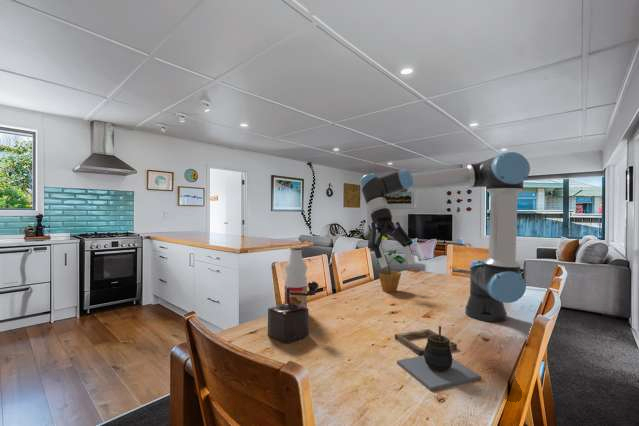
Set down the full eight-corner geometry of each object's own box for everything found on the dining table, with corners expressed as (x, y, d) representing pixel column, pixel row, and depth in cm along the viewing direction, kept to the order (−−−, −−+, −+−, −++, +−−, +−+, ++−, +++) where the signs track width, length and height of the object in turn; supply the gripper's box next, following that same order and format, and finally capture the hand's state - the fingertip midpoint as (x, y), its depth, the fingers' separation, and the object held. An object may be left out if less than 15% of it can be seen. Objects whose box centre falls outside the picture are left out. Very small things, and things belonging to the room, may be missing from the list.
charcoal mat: (442, 354, 92) (442, 352, 92) (481, 378, 78) (481, 375, 78) (396, 363, 86) (396, 360, 86) (430, 390, 73) (430, 387, 73)
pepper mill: (287, 345, 98) (287, 289, 97) (266, 335, 105) (267, 283, 105) (320, 331, 109) (321, 281, 109) (299, 323, 116) (300, 276, 116)
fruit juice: (311, 313, 128) (311, 247, 127) (293, 319, 121) (294, 248, 121) (297, 308, 134) (297, 245, 134) (280, 313, 128) (280, 246, 128)
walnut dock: (428, 333, 108) (428, 329, 108) (456, 349, 95) (456, 344, 95) (394, 338, 103) (394, 334, 103) (419, 356, 91) (419, 351, 91)
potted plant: (373, 294, 158) (373, 236, 157) (372, 286, 176) (373, 234, 176) (408, 296, 155) (409, 237, 154) (404, 287, 173) (405, 234, 173)
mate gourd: (424, 371, 80) (424, 333, 80) (423, 359, 87) (423, 324, 87) (453, 376, 78) (453, 337, 78) (450, 362, 85) (450, 327, 85)
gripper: (396, 216, 125) (415, 265, 117) (348, 216, 112) (365, 271, 104) (409, 207, 119) (429, 258, 111) (359, 206, 106) (378, 264, 98)
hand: (398, 265), depth 107 cm, fingers open, 13 cm apart
